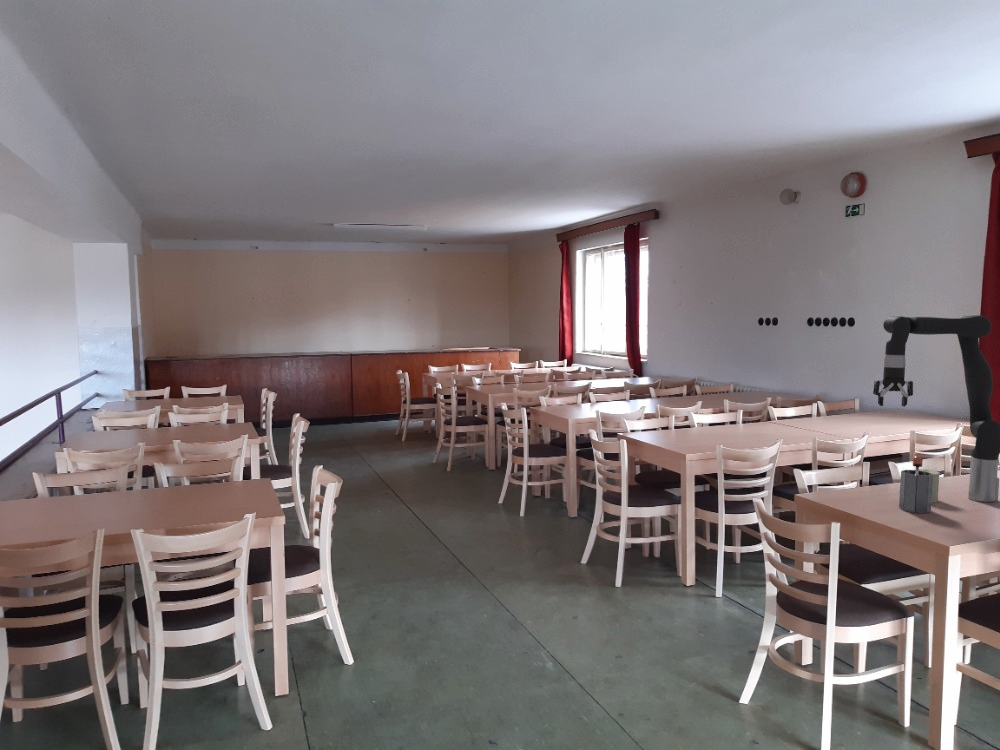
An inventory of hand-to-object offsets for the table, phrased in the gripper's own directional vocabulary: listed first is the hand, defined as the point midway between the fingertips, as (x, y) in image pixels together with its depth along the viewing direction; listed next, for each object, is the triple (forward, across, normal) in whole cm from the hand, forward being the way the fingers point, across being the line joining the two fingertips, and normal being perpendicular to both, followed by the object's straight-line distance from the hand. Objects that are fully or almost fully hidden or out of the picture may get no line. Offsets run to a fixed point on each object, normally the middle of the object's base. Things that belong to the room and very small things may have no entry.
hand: (892, 406), depth 291 cm
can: (+38, -15, -1) cm, 41 cm away
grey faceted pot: (+38, -4, +15) cm, 41 cm away
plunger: (+38, -4, +16) cm, 41 cm away
